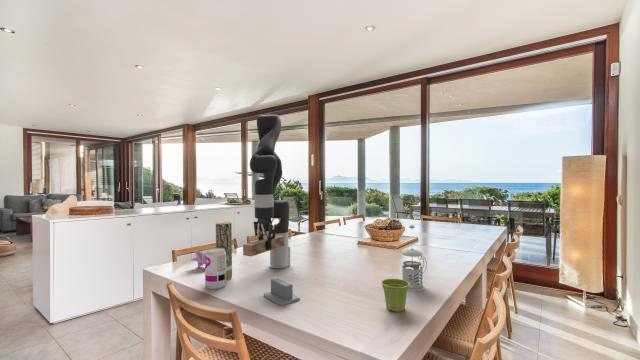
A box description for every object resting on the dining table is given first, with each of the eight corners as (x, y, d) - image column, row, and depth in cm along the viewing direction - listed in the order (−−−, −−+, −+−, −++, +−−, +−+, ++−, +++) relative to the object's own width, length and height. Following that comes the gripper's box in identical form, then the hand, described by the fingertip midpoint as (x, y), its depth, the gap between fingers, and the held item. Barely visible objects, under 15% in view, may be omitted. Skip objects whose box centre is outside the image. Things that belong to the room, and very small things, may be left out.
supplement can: (207, 291, 126) (206, 252, 126) (204, 284, 133) (203, 248, 133) (228, 287, 129) (227, 250, 129) (224, 281, 137) (223, 246, 137)
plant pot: (378, 303, 112) (377, 278, 112) (404, 302, 113) (404, 277, 113) (385, 314, 102) (385, 287, 102) (414, 313, 103) (414, 286, 103)
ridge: (281, 291, 125) (281, 276, 124) (299, 300, 115) (299, 283, 115) (263, 296, 119) (263, 280, 119) (281, 305, 110) (281, 288, 110)
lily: (221, 270, 158) (221, 251, 162) (204, 266, 148) (204, 246, 152) (201, 276, 161) (202, 257, 166) (184, 272, 151) (185, 252, 156)
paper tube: (227, 281, 138) (227, 223, 138) (213, 280, 139) (212, 222, 139) (234, 276, 144) (234, 221, 144) (221, 275, 146) (220, 220, 146)
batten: (276, 244, 136) (276, 235, 136) (284, 245, 134) (284, 236, 134) (243, 255, 119) (243, 244, 119) (251, 256, 117) (251, 245, 117)
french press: (394, 285, 131) (394, 224, 131) (417, 281, 135) (416, 222, 135) (410, 293, 122) (410, 227, 122) (434, 288, 126) (433, 225, 126)
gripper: (282, 206, 123) (282, 250, 124) (263, 204, 134) (263, 244, 134) (265, 207, 118) (265, 253, 119) (247, 205, 129) (247, 247, 130)
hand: (264, 248), depth 127 cm, fingers closed on batten, 5 cm apart
